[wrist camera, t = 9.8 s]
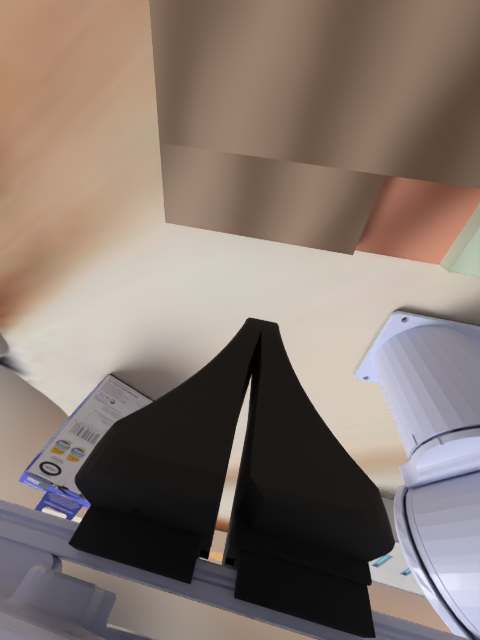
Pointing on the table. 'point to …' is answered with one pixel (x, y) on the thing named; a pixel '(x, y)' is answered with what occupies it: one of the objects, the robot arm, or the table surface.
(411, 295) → the table surface
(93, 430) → the ink cartridge box
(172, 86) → the trap board
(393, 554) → the warehouse
